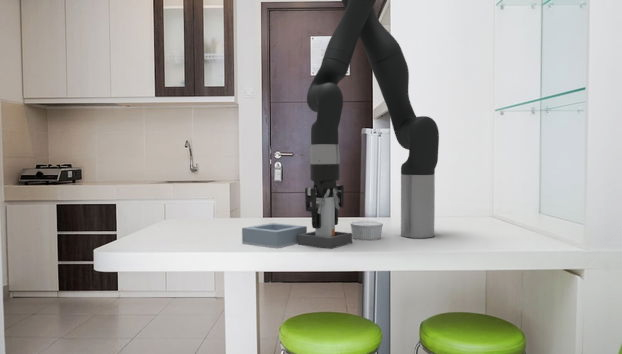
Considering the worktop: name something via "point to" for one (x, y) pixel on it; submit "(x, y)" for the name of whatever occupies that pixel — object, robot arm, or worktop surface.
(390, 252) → the worktop surface
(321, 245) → the dark grey square tray
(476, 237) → the worktop surface
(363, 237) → the ramekin
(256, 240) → the blue-grey square tray
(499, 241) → the worktop surface
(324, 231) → the skincare box
